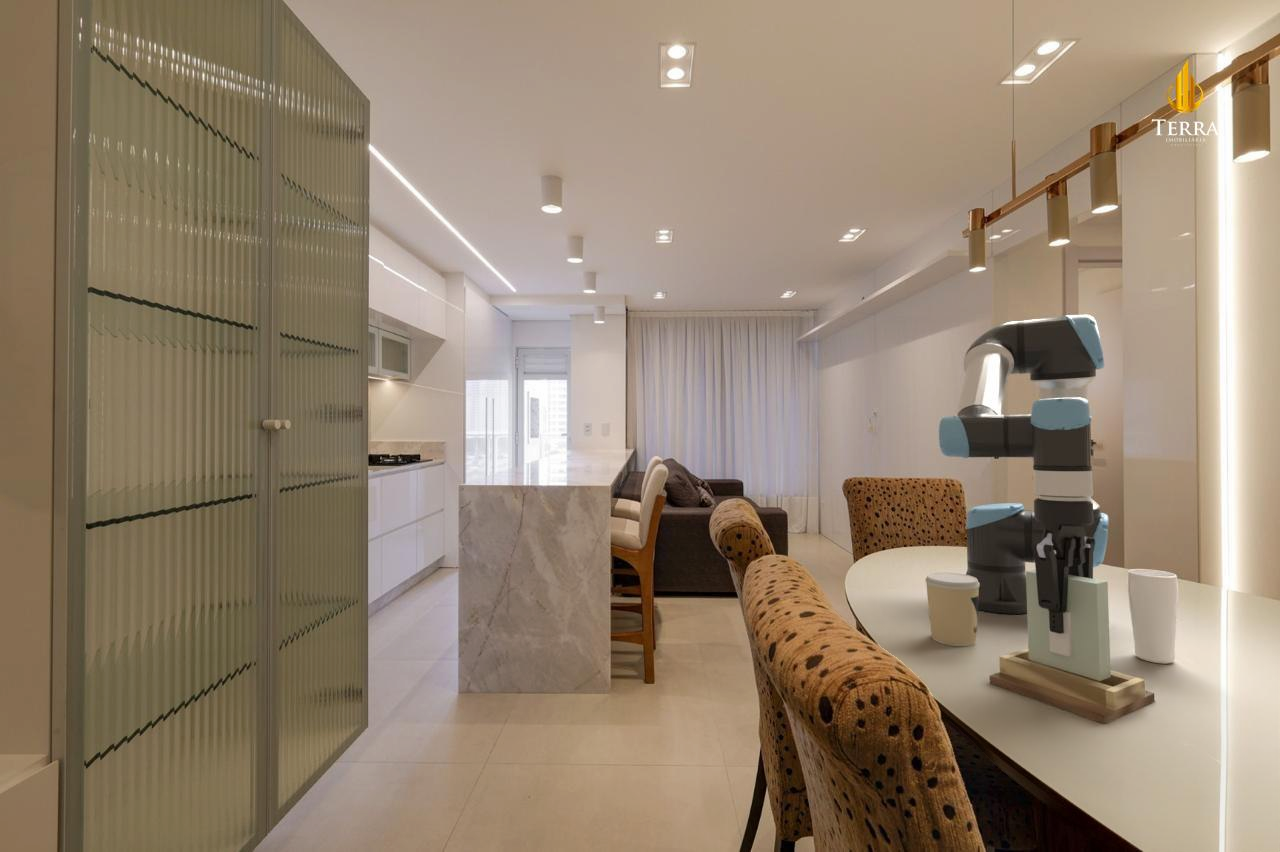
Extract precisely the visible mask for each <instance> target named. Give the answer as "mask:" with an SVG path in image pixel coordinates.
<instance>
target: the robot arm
mask: <svg viewBox="0 0 1280 852" xmlns="http://www.w3.org/2000/svg"><path fill="white" fill-rule="evenodd" d="M1104 367H1105V360H1104V353H1103V346H1102V342H1101V337H1100V332H1099V328H1098V323H1097V321H1096V319H1095V318H1094V317H1093V316H1091V315H1090V314H1071V315H1069V314H1067V315H1062V316H1055V317H1054V316H1053V317H1046V318H1045V317H1044V318H1036V319H1027V320H1026V319H1025V320H1020V321H1018V320H1016V321H1008V322H1006V323H1005V322H1004V323H1002V324H999V325H997V326H994V327H992V328H991V329H988V331H986V332H984V333H983V334H981V335H980V336H979V337H978V338H977V339H975V340H974V341H973V343H971V345H970V346H969V348H968V349H967V350H966V352H965V355H964V358H963V369H964V371H965V377H964V381H963V384H962V385H963V387H962V390H961V395H960V398H959V403H958V407H957V412H956V414H954V415H952V416H944V417H942V418H941V420H940V422H939V426H938V441H939V443H938V444H939V448H940V452H941V454H942V455H944V456H945V457H949V458H950V457H951V458H954V457H955V458H963V459H968V458H1032V463H1033V466H1032V469H1033V475H1032V477H1031V478H1032V481H1033V494H1034V495H1035V496H1038V498H1035V500H1033V510H1026V509H1025V506H1024V504H1023V503H1020V502H1019V503H1018V502H1016V503H1012V502H1010V503H1008V502H1005V503H993V504H991V503H990V504H982V505H978V506H972V507H971V508H969V509H968V510H967V512H966V521H965V530H966V531H965V532H966V558H967V559H966V563H967V565H966V567H967V570H966V572H965V575H969V576H972V577H975V578H976V579H977V580H978V582H979V584H980V586H979V595H978V611H979V610H980V611H984V612H988V613H996V614H1009V615H1017V614H1019V615H1020V614H1027V589H1026V571H1027V570H1026V563H1031V564H1032V563H1033V564H1035V565H1034V566H1035V569H1036V579H1037V592H1038V604H1039V606H1041V608H1045V609H1048V610H1049V638H1050V651H1051V652H1054V653H1058V654H1061V655H1065V656H1068V657H1070V656H1072V646H1071V615H1070V612H1067V611H1066V610H1067V593H1068V575H1073V576H1079V577H1085V578H1091V579H1094V575H1093V574H1094V568H1098V567H1099V566H1101V565H1102V564H1103V562H1104V559H1105V555H1106V550H1107V543H1108V535H1109V521H1110V520H1109V515H1108V514H1107V513H1104V512H1101V507H1100V504H1098V502H1096V501H1095V500H1094V499H1092V497H1093V496H1094V483H1093V482H1094V481H1093V471H1092V470H1093V469H1092V433H1091V431H1092V430H1091V428H1092V427H1091V422H1092V416H1091V411H1090V403H1089V400H1088V399H1089V397H1088V387H1089V384H1091V383H1092V382H1093V381H1094V380H1095V379H1096V378H1097V372H1096V371H1097V370H1101V369H1103V368H1104ZM1016 374H1030V375H1029V376H1030V379H1029V381H1030V382H1031V383H1032V384H1033V385H1034V386H1035V387H1036V388H1038V397H1039V399H1037V400H1034V401H1033V402H1032V403H1031V413H1024V414H1023V413H1022V414H1021V413H1020V414H1019V413H1018V414H1004V406H1005V405H1004V404H1005V397H1006V388H1007V381H1008V377H1009V376H1010V375H1016Z"/></svg>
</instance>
